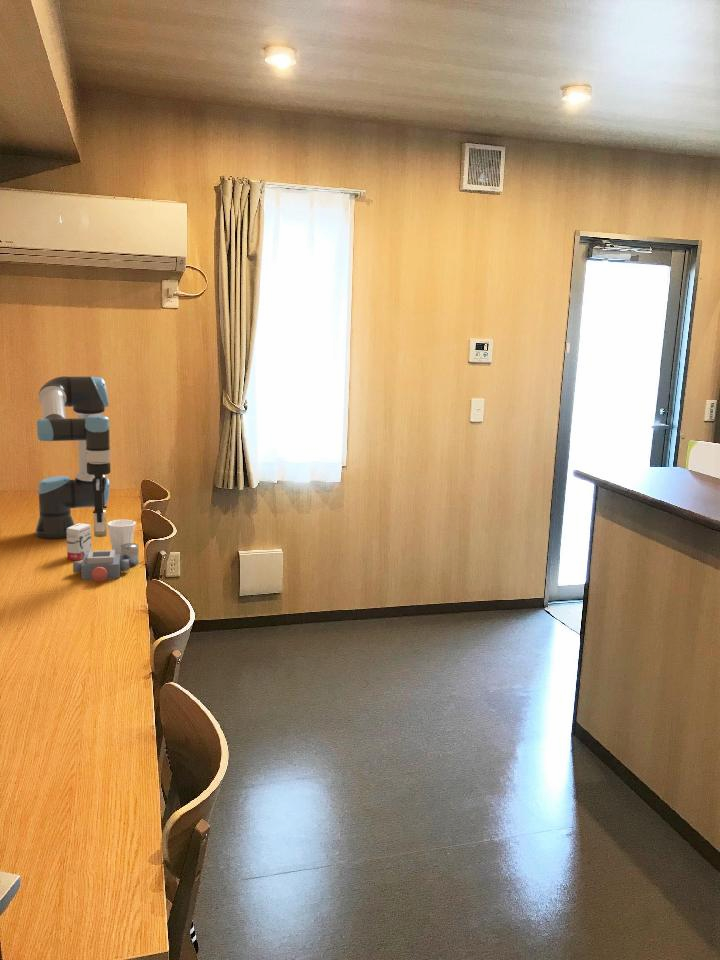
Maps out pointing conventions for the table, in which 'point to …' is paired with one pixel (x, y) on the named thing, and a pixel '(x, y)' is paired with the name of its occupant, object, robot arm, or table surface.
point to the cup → (121, 533)
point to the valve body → (101, 565)
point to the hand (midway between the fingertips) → (100, 529)
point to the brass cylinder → (104, 533)
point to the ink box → (78, 541)
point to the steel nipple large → (130, 553)
